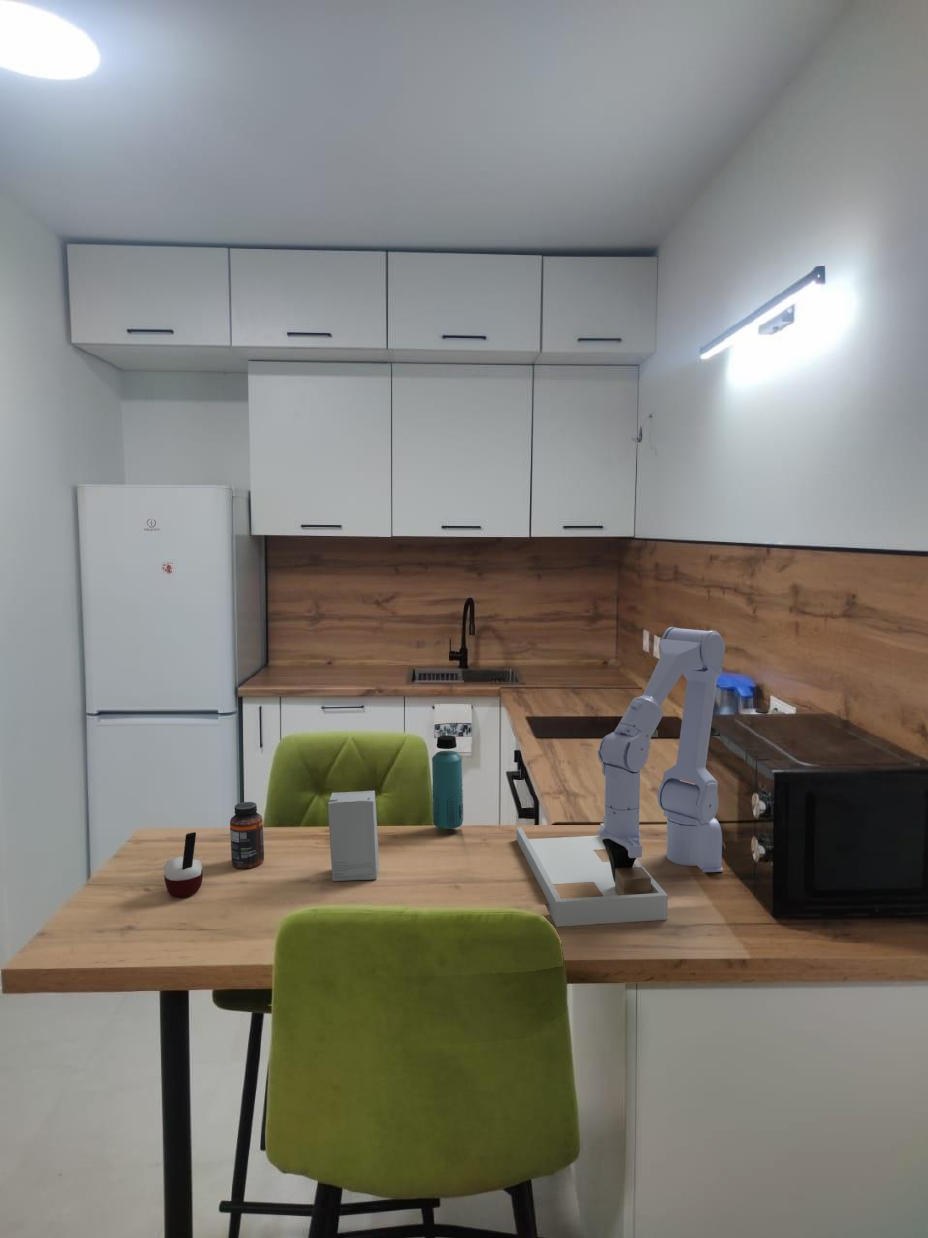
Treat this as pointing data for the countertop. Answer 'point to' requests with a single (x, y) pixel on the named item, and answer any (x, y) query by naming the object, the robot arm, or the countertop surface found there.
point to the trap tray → (582, 865)
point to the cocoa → (184, 871)
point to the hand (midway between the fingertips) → (620, 882)
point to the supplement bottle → (246, 836)
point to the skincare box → (353, 836)
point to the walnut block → (632, 881)
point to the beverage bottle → (447, 785)
